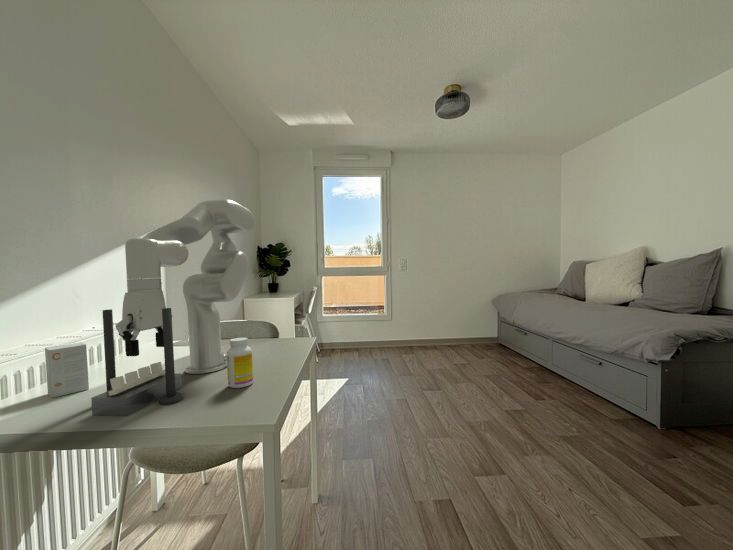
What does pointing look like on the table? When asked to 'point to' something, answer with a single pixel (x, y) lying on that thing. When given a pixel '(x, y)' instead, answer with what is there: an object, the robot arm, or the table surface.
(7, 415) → the table surface
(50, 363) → the small box
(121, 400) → the breaker panel
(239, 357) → the supplement bottle
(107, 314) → the cable upright
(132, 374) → the breaker paddles
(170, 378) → the cable upright
